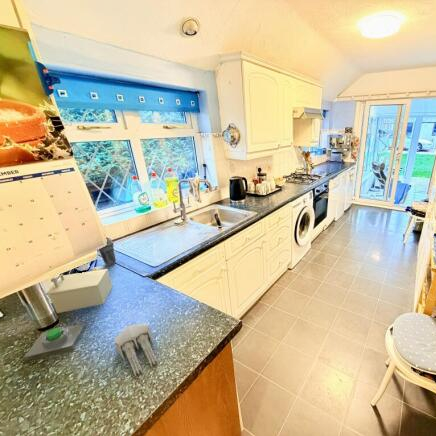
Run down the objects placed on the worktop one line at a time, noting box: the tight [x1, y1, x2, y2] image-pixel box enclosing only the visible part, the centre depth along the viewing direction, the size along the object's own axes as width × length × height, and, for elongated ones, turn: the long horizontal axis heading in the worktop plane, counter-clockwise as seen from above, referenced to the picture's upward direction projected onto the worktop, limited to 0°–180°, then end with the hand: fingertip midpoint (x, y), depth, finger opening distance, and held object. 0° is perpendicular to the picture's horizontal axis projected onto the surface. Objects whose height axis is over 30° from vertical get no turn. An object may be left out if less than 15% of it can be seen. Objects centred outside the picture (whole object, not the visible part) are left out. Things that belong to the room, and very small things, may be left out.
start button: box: [46, 327, 62, 340], centre depth 79 cm, size 4×4×2 cm
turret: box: [113, 322, 159, 378], centre depth 78 cm, size 10×20×5 cm, turn 45°
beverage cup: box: [98, 236, 117, 267], centre depth 124 cm, size 7×7×20 cm
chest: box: [48, 270, 114, 314], centre depth 100 cm, size 16×13×9 cm
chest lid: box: [45, 268, 109, 296], centre depth 97 cm, size 16×13×5 cm
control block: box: [23, 323, 87, 363], centre depth 80 cm, size 12×10×4 cm
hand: (66, 271), depth 95 cm, fingers closed
